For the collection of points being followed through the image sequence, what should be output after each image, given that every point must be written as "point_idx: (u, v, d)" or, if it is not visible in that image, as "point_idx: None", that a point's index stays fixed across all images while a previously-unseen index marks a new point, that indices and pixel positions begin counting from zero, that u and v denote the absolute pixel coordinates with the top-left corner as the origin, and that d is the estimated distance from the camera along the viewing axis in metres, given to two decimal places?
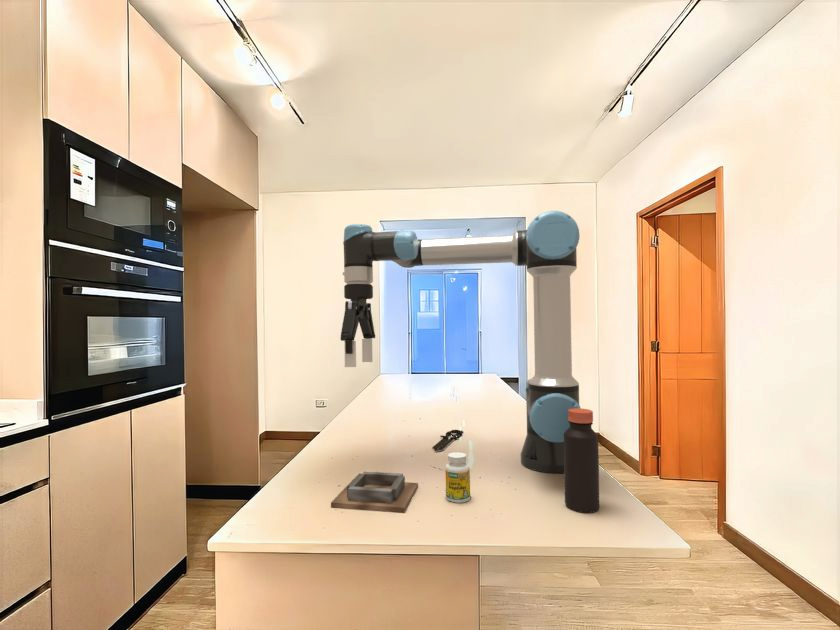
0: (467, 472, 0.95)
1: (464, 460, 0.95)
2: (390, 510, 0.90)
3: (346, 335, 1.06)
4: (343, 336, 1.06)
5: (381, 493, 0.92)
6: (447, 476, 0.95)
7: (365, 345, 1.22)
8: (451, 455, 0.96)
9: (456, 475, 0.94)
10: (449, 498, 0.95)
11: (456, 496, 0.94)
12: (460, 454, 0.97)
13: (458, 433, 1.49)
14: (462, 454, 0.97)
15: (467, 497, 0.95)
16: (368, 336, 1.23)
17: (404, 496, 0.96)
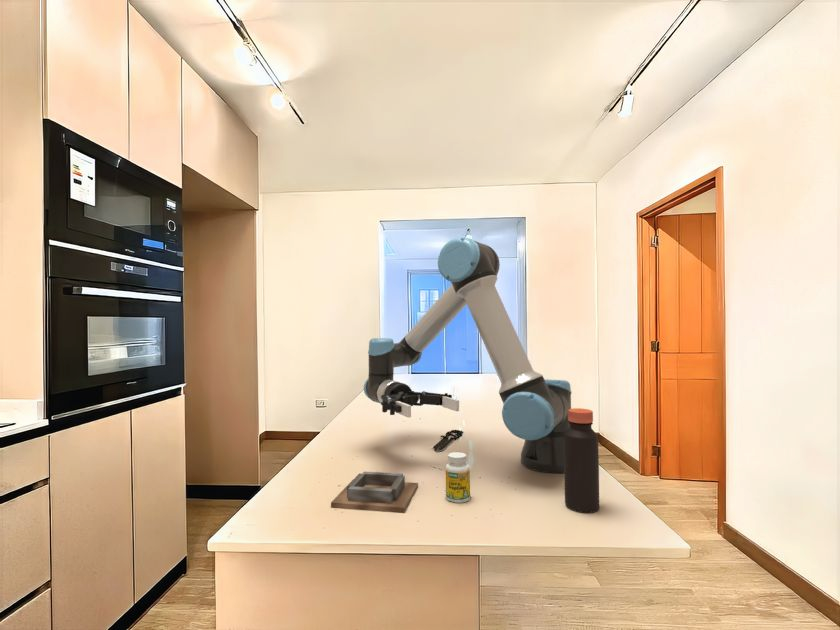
0: (467, 472, 0.95)
1: (464, 460, 0.95)
2: (390, 510, 0.90)
3: (382, 405, 1.07)
4: (382, 409, 1.07)
5: (381, 493, 0.92)
6: (447, 476, 0.95)
7: (446, 404, 1.12)
8: (451, 455, 0.96)
9: (456, 475, 0.94)
10: (449, 498, 0.95)
11: (456, 496, 0.94)
12: (460, 454, 0.97)
13: (458, 433, 1.49)
14: (462, 454, 0.97)
15: (467, 497, 0.95)
16: None
17: (404, 496, 0.96)
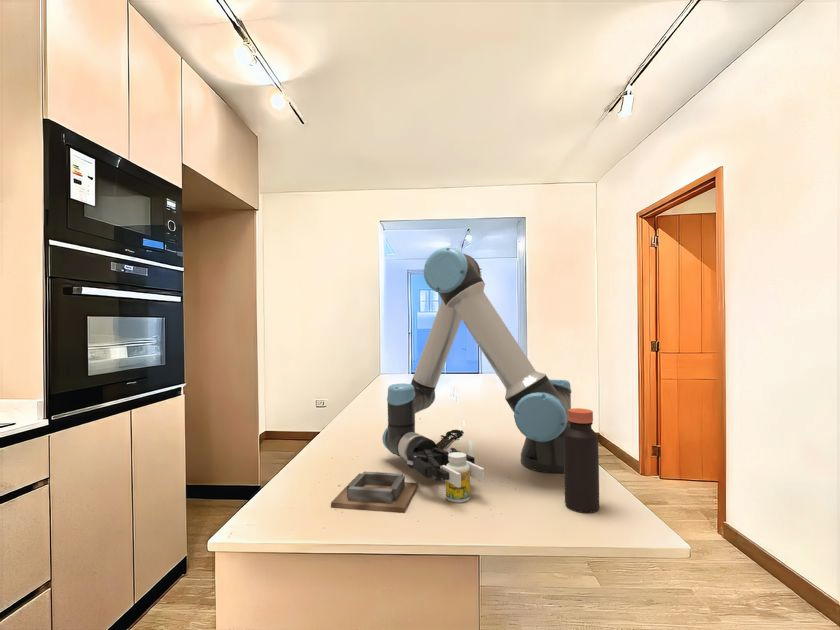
0: (467, 472, 0.95)
1: (464, 459, 0.95)
2: (390, 510, 0.90)
3: (426, 471, 0.96)
4: (427, 474, 0.96)
5: (381, 493, 0.92)
6: None
7: None
8: (451, 455, 0.96)
9: None
10: (449, 498, 0.95)
11: (456, 496, 0.94)
12: (460, 454, 0.97)
13: (458, 433, 1.49)
14: (462, 454, 0.97)
15: (467, 497, 0.95)
16: None
17: (404, 496, 0.96)
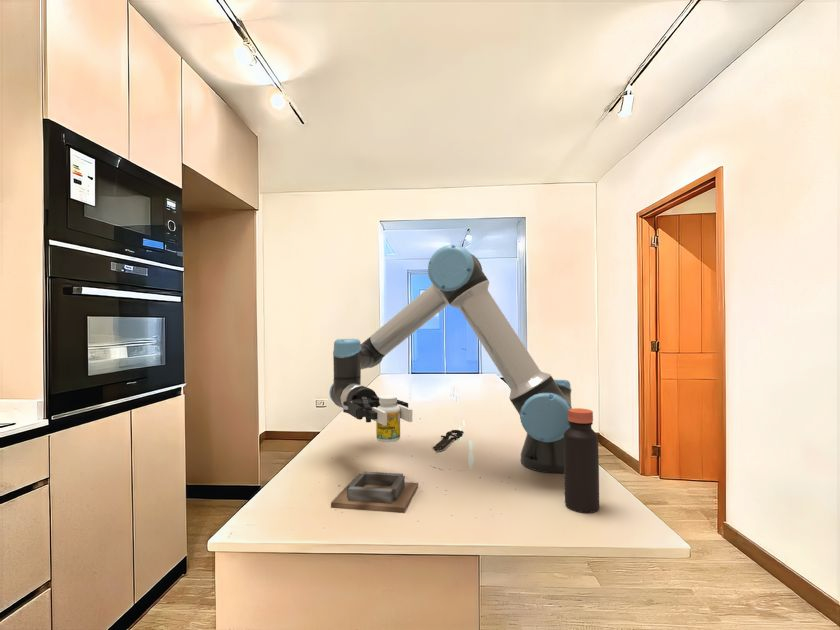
0: (396, 413, 0.97)
1: (394, 401, 0.97)
2: (390, 510, 0.90)
3: (357, 412, 0.98)
4: (357, 416, 0.97)
5: (381, 493, 0.92)
6: None
7: (400, 413, 0.99)
8: (382, 397, 0.98)
9: None
10: (378, 438, 0.97)
11: (384, 435, 0.96)
12: (391, 396, 0.99)
13: (458, 433, 1.49)
14: (393, 397, 0.98)
15: (396, 437, 0.96)
16: None
17: (404, 496, 0.96)
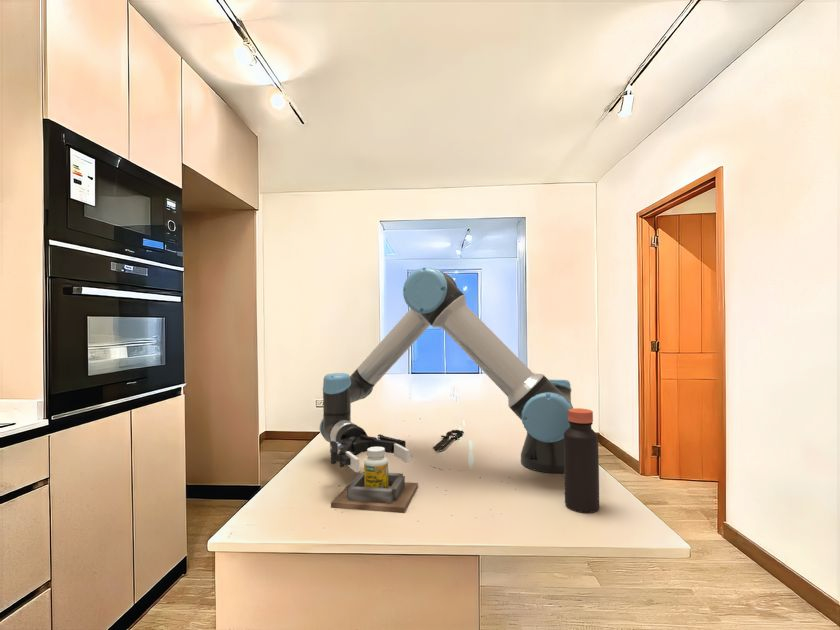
0: (384, 466, 0.96)
1: (382, 453, 0.97)
2: (390, 510, 0.90)
3: None
4: (331, 460, 0.97)
5: (381, 493, 0.92)
6: (365, 469, 0.97)
7: (397, 453, 1.01)
8: (370, 449, 0.98)
9: (373, 468, 0.95)
10: None
11: None
12: (379, 448, 0.98)
13: (459, 433, 1.49)
14: (381, 448, 0.98)
15: None
16: None
17: (404, 496, 0.96)
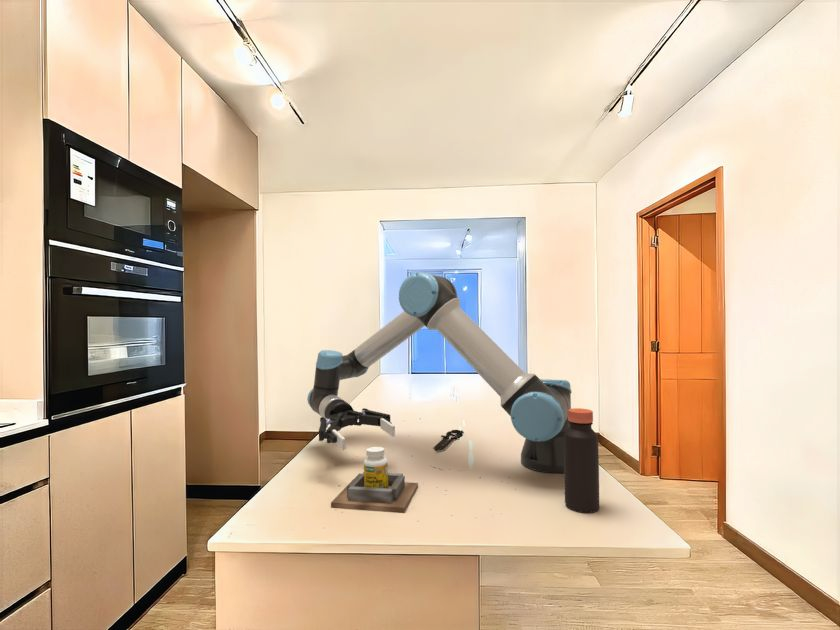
0: (384, 466, 0.96)
1: (381, 454, 0.97)
2: (390, 510, 0.90)
3: None
4: (319, 438, 1.09)
5: (381, 493, 0.92)
6: (364, 470, 0.97)
7: (383, 427, 1.15)
8: (369, 449, 0.98)
9: (372, 469, 0.95)
10: None
11: None
12: (378, 448, 0.98)
13: (458, 433, 1.49)
14: (380, 449, 0.98)
15: None
16: None
17: (404, 496, 0.96)
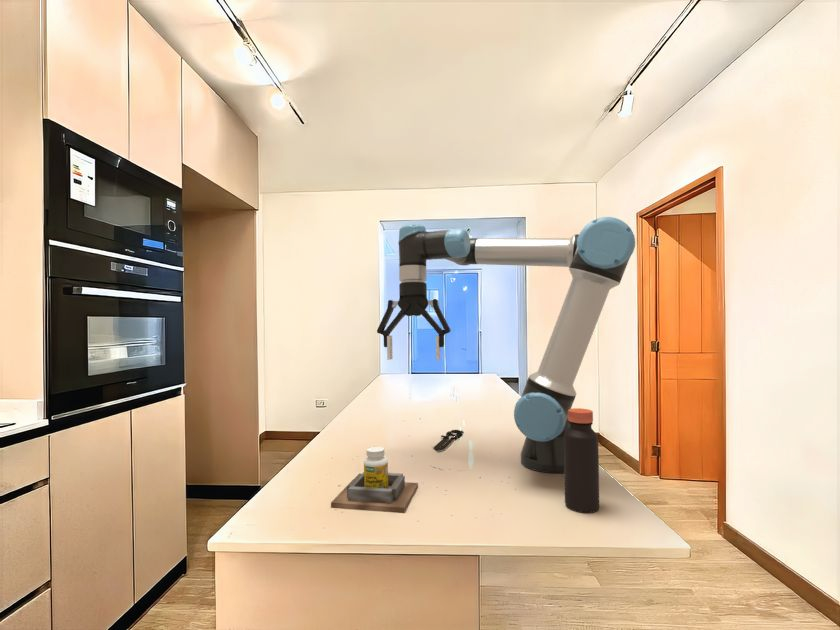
0: (384, 466, 0.96)
1: (381, 454, 0.97)
2: (390, 510, 0.90)
3: None
4: None
5: (381, 493, 0.92)
6: (365, 470, 0.97)
7: None
8: (369, 449, 0.98)
9: (373, 469, 0.95)
10: None
11: None
12: (379, 448, 0.98)
13: (458, 433, 1.49)
14: (380, 449, 0.98)
15: None
16: None
17: (404, 496, 0.96)
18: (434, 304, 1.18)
